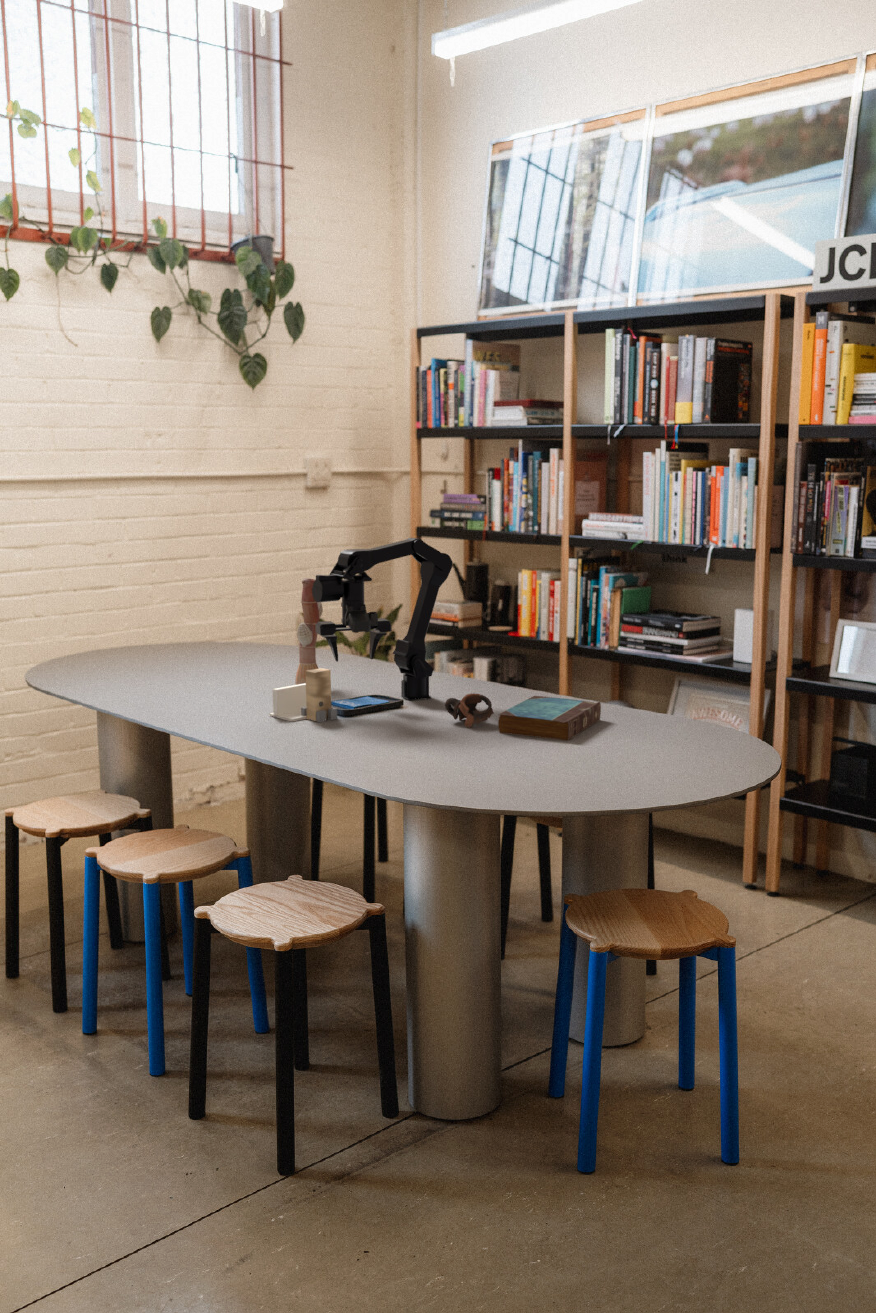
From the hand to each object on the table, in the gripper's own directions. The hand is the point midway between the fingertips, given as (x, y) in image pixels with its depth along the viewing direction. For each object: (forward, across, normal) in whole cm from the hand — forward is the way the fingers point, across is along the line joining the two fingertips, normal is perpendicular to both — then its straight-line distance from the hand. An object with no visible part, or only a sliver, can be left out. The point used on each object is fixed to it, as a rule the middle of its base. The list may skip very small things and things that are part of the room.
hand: (354, 660), depth 301 cm
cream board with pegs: (+12, -14, -7) cm, 19 cm away
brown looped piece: (+12, +21, -28) cm, 37 cm away
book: (+13, +37, -38) cm, 55 cm away
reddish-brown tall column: (+12, -4, +31) cm, 34 cm away
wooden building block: (+12, -12, -10) cm, 20 cm away
